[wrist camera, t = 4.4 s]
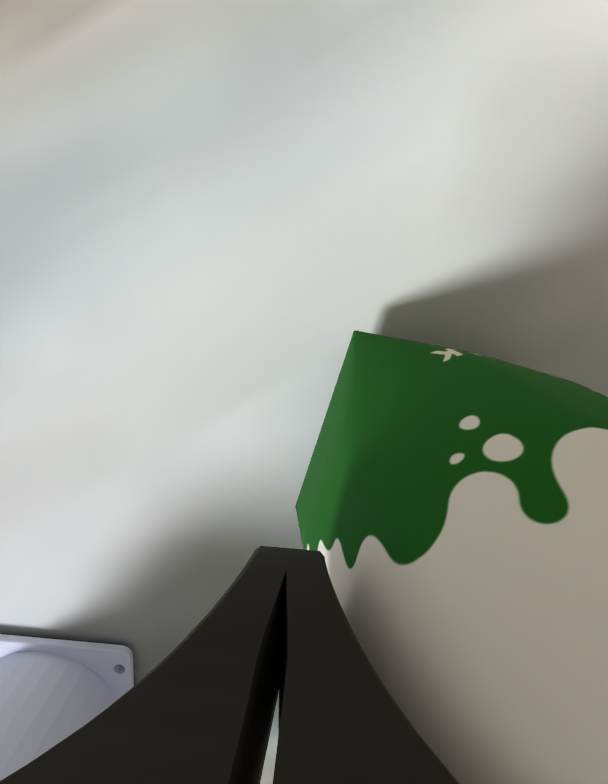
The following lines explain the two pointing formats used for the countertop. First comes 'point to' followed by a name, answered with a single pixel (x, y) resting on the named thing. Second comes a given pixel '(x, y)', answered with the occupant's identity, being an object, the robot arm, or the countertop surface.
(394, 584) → the soya milk
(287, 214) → the countertop surface
